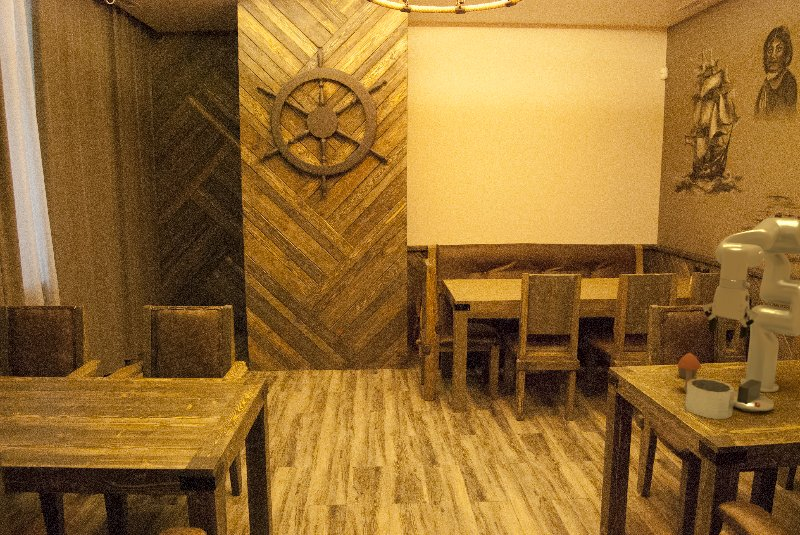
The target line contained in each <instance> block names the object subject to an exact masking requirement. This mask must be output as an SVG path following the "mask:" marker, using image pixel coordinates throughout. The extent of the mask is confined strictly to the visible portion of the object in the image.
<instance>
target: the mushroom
mask: <svg viewBox="0 0 800 535" xmlns="http://www.w3.org/2000/svg"><path fill="white" fill-rule="evenodd" d="M678 366H679V367H680V368H682V369H686V379H684V380H685V381H684V382H685V383H684V392H685V393H687V382H688V381H689V380H691V379H692V370H697V371H699V370H700V369H702V365H701V363H700V361H699V359H698V358H697V357H696V356H695V355H694V354H693V353H691V352H688V353H686V354H684V355H683V356H682V357H681V358H680V359H679V361H678V363H677V367H678Z"/></svg>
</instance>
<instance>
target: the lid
mask: <svg viewBox="0 0 800 535" xmlns="http://www.w3.org/2000/svg"><path fill="white" fill-rule="evenodd" d="M760 389H761V382H760V381H757V380H753V379H751V380H749V381H747V382H746V383H744V384H742V385H741V384H740V385H738V390H735V392H734V401H733V407H734V406H735V407H734V408H736V409H738V408H739V410H741V411H744V410H745V412H750V413H751V412H752V413H760V411H761V412H767V411H771V410H773V409H774V405H775V404H774V403H775V402H774V401H773V400H772V399H770V398H769V397H766V396H765V395H761V391H760Z"/></svg>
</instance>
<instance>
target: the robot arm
mask: <svg viewBox="0 0 800 535" xmlns="http://www.w3.org/2000/svg"><path fill="white" fill-rule="evenodd" d="M785 254H786V255H795V256H800V219H798V218H789V217H788V218H787V217H785V218H784V217H768V218H765V219H763V220H762V221H761V222H759V223H758V224H757V225H756V226H755V227H754V228H752V229H751V230H746V231H742V232H738V233H734V234H730V235H728V236H726V237H724V239H723V240H721V241H720V242H719V244H718V245H717V247H716V248H715V253H714V255H715V256H714V257H715V259H716V261H717V262H718V263H719V264H720V274H719V285H717V287H716V289H715V292H714V296H713V299H712V300H713V302H711V303H710V302H709V303H708V304H703V305H702V310H703V312H704V315H705V316H706V317H707V319H708V321H709V322H708V329H709V333H713V332H715V331H716V330H717V319H716V318H717V317H720V318H725V319H729V320H736V321H739V322H740V324H741V325H742V326H740V332H739V333H740V334H739V338H740V339H742V340H743V339H745V338H746V337H747V336H748V335H750V336H749V345H748V353H747V363H746V371H745V377H743V378H741V379H740V381H739V382H740V385H742V384H744V383H746V382H747V381H749V380H751V379H753V380H757V381H760V382H761V389H760V393H761V392H762V393H774V392H777V391H779V387H780V386H779V385H778V384H777V383H775V381H776V380H775V379H776V372H777V371H776V370H777V364H778V356H779V348H780V347H779V346H780V344H779V340H778V338H777V336H776V334H780V335H784V336H785V335H786V336H792V337H797V336H799V335H800V280H796V279H791V278H790V277H791V272H792V263H791V262H790V260H789V258H788V257H787V256H786V255H785ZM763 263H764V269H763V274H762V279H761V284H760V288H759V297H760V299H761V300H762V301H764V302H767V303H773V304H778V305H784V306H790V307H791V308H784V307H780V306H775V305H769V304H768V305H766V304H759V305H755V306H753V307H752V308H751V309H750V294H749V289H747V288H750V287H751V283H750V282H748V281H747V275H748V268H757V267H759V266H760V265H761V264H763ZM711 307H712V308H711ZM710 308H711V310H710ZM748 318H749V320H748ZM749 329H750V332H749ZM748 333H749V334H748Z"/></svg>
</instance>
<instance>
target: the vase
mask: <svg viewBox="0 0 800 535" xmlns="http://www.w3.org/2000/svg"><path fill="white" fill-rule="evenodd" d="M677 367H678V369H677V371H678V375H679V376H680V377H681V378H682V379H684V380H686V369H682V368H680V367H679V366H678V365H677ZM697 374H698V370H692V379H695V377H696V376H697Z"/></svg>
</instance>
